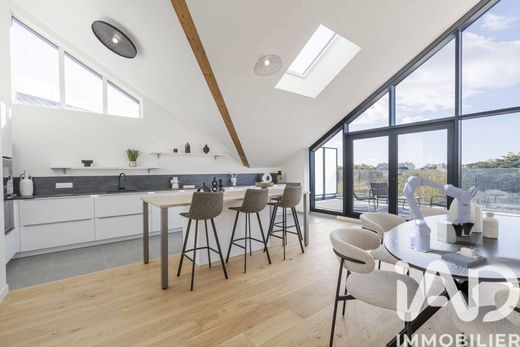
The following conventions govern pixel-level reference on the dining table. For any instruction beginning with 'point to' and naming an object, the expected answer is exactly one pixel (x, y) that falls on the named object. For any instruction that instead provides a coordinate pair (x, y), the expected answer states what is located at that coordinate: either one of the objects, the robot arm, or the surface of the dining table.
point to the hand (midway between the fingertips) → (462, 235)
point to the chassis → (463, 259)
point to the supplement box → (446, 232)
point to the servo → (468, 252)
